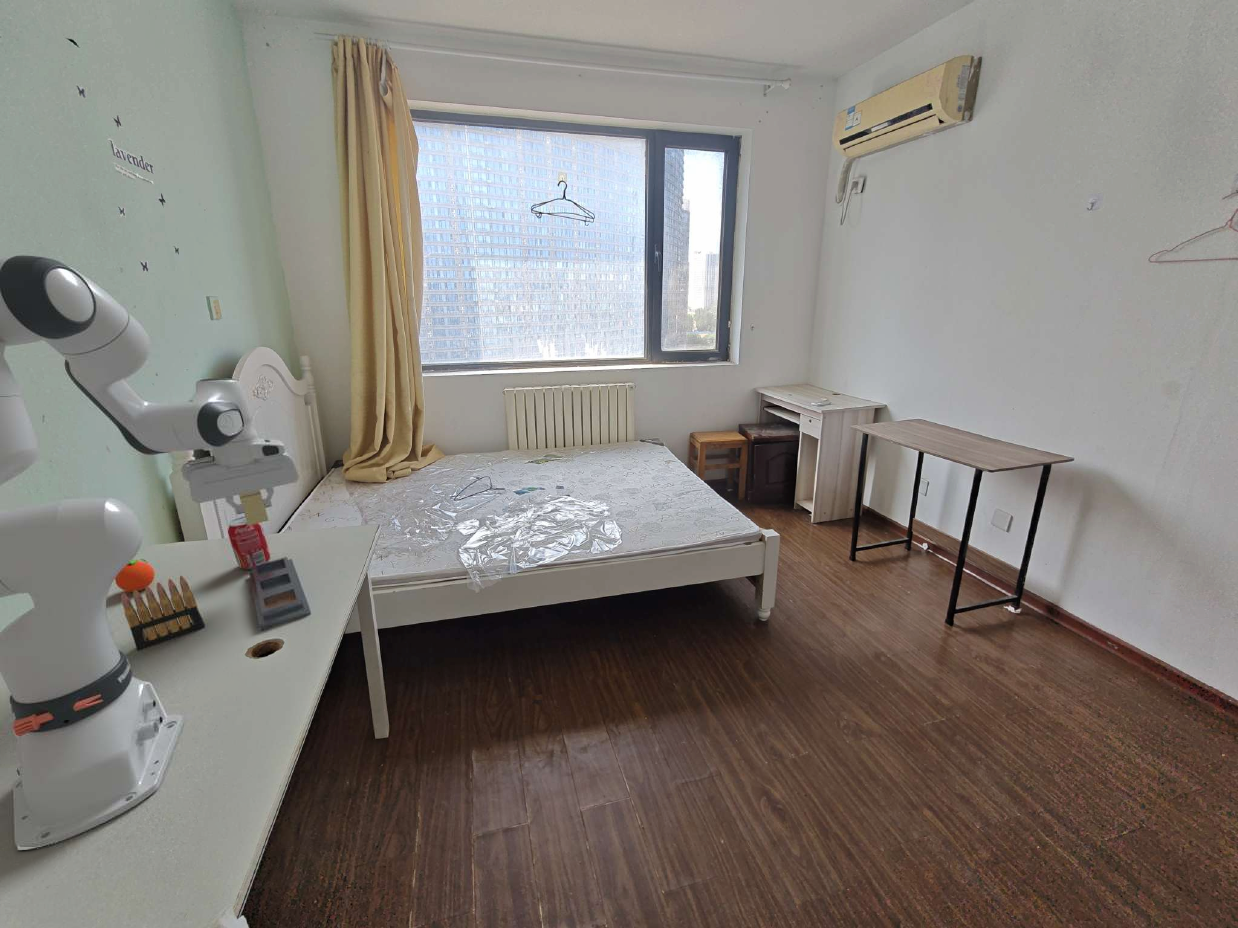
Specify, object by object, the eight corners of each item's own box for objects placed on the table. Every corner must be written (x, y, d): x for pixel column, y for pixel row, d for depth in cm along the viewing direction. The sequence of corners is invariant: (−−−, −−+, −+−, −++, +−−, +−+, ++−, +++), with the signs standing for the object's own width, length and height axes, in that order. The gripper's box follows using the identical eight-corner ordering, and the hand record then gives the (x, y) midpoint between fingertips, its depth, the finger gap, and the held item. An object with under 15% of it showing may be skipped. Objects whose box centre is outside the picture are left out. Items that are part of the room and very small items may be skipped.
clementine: (137, 581, 132) (127, 554, 130) (168, 577, 133) (159, 551, 130) (112, 599, 124) (101, 571, 122) (145, 595, 125) (135, 568, 123)
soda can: (253, 557, 141) (241, 514, 137) (278, 557, 140) (266, 514, 136) (231, 570, 134) (217, 526, 130) (257, 571, 133) (244, 526, 129)
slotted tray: (311, 613, 114) (307, 600, 113) (260, 630, 109) (257, 617, 108) (293, 564, 136) (290, 553, 135) (250, 576, 131) (247, 565, 130)
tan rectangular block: (268, 520, 124) (261, 493, 122) (247, 525, 122) (239, 498, 120) (266, 515, 127) (259, 489, 125) (246, 520, 125) (238, 493, 123)
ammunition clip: (137, 650, 105) (115, 596, 101) (137, 646, 106) (116, 592, 103) (205, 627, 111) (187, 575, 108) (204, 623, 113) (186, 572, 109)
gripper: (177, 465, 111) (198, 527, 115) (291, 444, 122) (306, 501, 127) (178, 459, 116) (198, 518, 120) (288, 439, 127) (302, 494, 132)
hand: (254, 509), depth 124 cm, fingers closed on tan rectangular block, 4 cm apart
